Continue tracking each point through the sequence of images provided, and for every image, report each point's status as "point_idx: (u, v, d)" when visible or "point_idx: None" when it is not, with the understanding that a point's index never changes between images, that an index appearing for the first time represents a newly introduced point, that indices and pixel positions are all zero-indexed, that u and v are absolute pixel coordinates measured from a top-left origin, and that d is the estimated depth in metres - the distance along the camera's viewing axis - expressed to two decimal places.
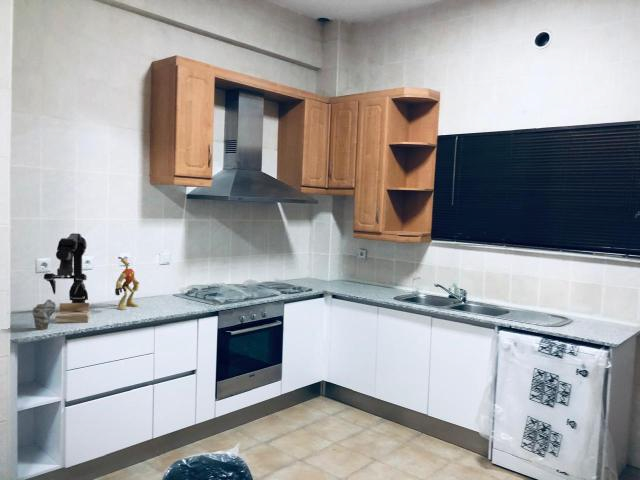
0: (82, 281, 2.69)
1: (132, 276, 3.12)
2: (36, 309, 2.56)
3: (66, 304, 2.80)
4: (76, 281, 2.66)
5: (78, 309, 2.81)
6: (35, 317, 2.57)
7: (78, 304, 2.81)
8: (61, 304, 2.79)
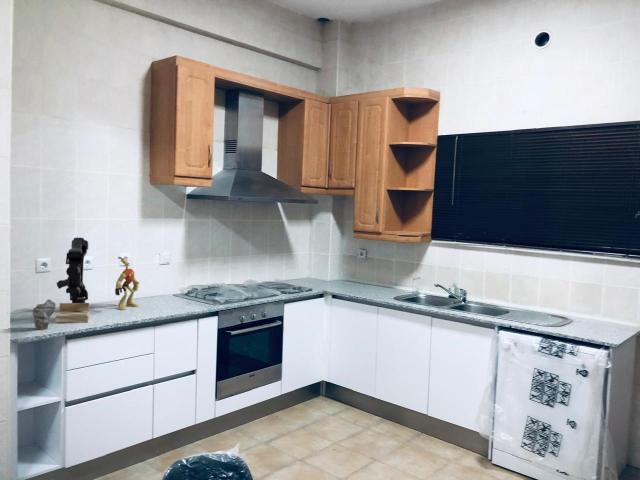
0: None
1: (132, 276, 3.12)
2: (36, 309, 2.56)
3: (66, 304, 2.80)
4: None
5: (78, 309, 2.81)
6: (35, 317, 2.57)
7: (78, 304, 2.81)
8: (61, 304, 2.79)
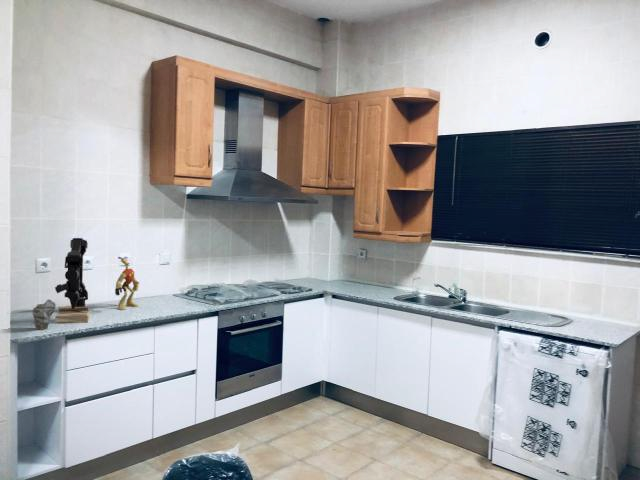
0: (73, 297, 2.73)
1: (132, 276, 3.12)
2: (36, 309, 2.56)
3: (65, 308, 2.76)
4: None
5: (78, 310, 2.80)
6: (35, 317, 2.57)
7: (77, 308, 2.78)
8: (60, 308, 2.75)
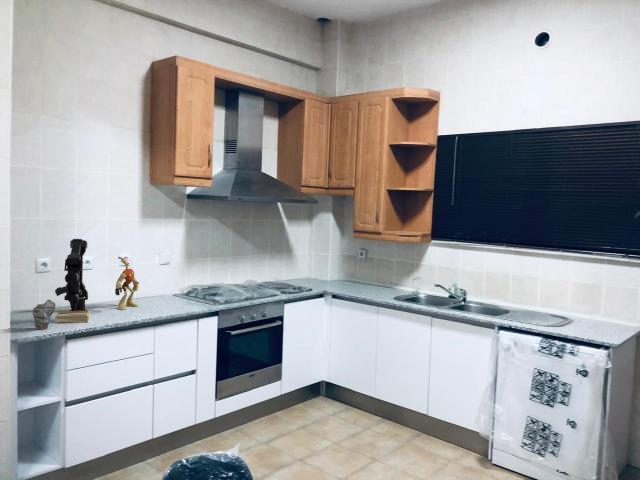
0: None
1: (132, 276, 3.12)
2: (36, 309, 2.56)
3: None
4: None
5: None
6: (35, 317, 2.57)
7: (77, 311, 2.77)
8: None
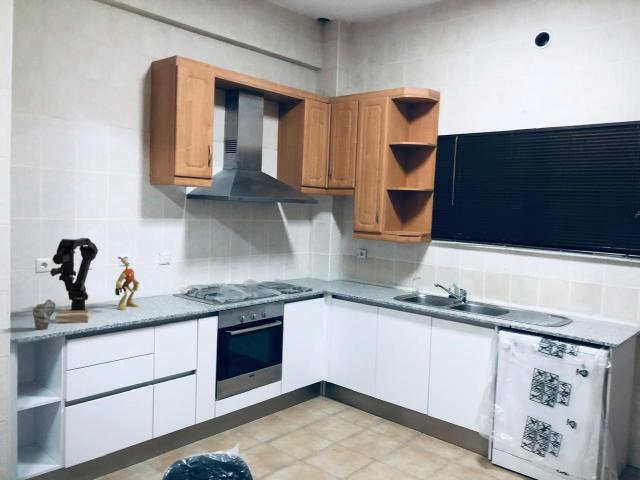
0: None
1: (132, 276, 3.12)
2: (36, 309, 2.56)
3: None
4: None
5: None
6: (35, 317, 2.57)
7: (77, 312, 2.77)
8: None
